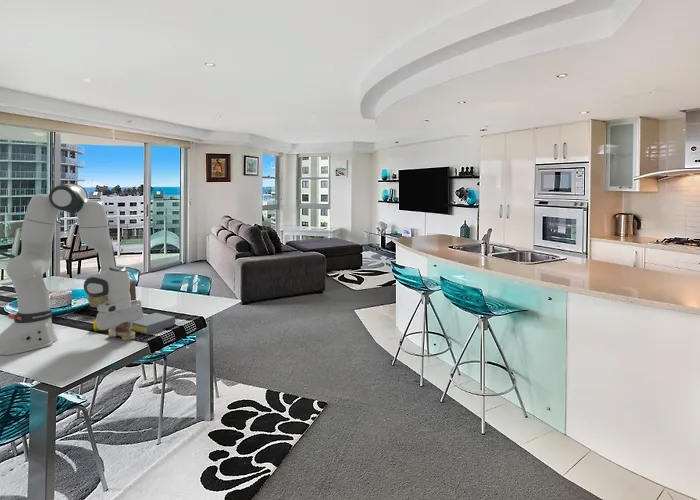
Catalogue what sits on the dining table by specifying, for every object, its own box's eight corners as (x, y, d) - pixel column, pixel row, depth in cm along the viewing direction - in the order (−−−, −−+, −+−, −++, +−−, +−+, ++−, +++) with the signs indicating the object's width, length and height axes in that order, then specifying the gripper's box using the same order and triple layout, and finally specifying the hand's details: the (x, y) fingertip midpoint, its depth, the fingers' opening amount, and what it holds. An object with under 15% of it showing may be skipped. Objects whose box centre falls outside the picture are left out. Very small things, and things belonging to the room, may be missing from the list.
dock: (146, 334, 202) (145, 326, 201) (126, 329, 208) (125, 321, 208) (175, 324, 216) (175, 316, 215) (155, 320, 222) (155, 312, 222)
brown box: (122, 332, 195) (121, 324, 194) (114, 330, 197) (114, 322, 196) (128, 330, 198) (128, 322, 197) (121, 328, 200) (120, 320, 199)
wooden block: (128, 319, 223) (126, 284, 221) (119, 319, 223) (117, 284, 221) (137, 314, 232) (135, 280, 229) (128, 314, 232) (126, 280, 230)
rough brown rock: (138, 308, 245) (138, 281, 244) (107, 313, 231) (107, 284, 231) (115, 303, 258) (115, 277, 257) (85, 307, 244) (85, 280, 243)
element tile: (128, 329, 209) (127, 319, 209) (92, 332, 205) (91, 322, 204) (133, 320, 224) (133, 311, 223) (100, 322, 219) (99, 313, 219)
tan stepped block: (126, 341, 193) (125, 334, 192) (108, 336, 199) (108, 330, 198) (135, 338, 197) (135, 331, 196) (118, 333, 203) (117, 327, 202)
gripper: (136, 297, 206) (137, 326, 208) (93, 308, 188) (95, 339, 190) (145, 299, 203) (146, 328, 205) (102, 310, 185) (104, 341, 187)
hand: (121, 333), depth 197 cm, fingers closed on tan stepped block, 5 cm apart
